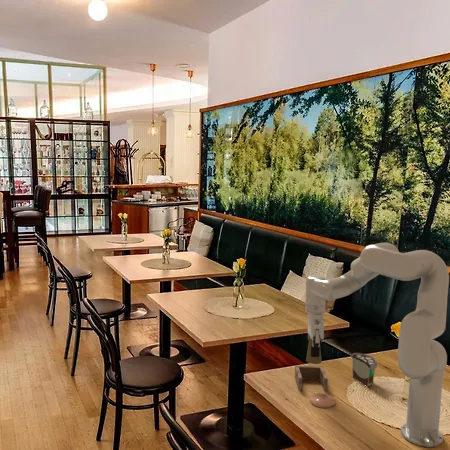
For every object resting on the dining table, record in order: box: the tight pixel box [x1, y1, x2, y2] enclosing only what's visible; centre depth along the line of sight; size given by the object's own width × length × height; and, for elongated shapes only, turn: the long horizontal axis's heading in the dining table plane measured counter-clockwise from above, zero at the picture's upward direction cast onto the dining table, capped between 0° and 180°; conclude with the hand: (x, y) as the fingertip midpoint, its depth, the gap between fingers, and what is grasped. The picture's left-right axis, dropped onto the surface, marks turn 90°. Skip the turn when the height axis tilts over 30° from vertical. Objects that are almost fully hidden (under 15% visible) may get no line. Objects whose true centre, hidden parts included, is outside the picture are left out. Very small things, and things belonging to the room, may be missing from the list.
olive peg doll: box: [305, 333, 323, 365], centre depth 184 cm, size 6×6×11 cm
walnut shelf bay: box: [294, 365, 329, 392], centre depth 188 cm, size 11×11×5 cm
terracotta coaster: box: [309, 392, 336, 409], centre depth 174 cm, size 9×9×1 cm
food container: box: [351, 352, 378, 388], centre depth 191 cm, size 12×6×10 cm, turn 22°
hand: (314, 353), depth 184 cm, fingers closed on olive peg doll, 4 cm apart
